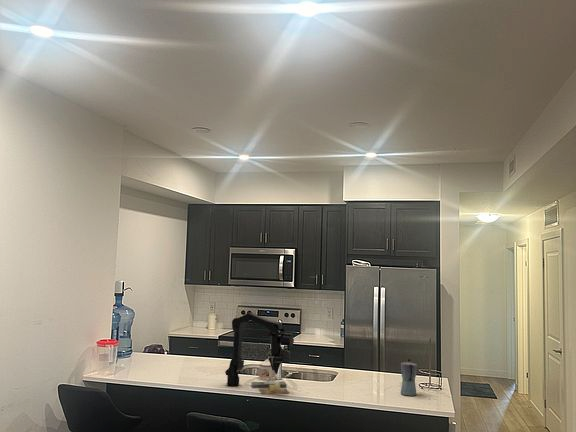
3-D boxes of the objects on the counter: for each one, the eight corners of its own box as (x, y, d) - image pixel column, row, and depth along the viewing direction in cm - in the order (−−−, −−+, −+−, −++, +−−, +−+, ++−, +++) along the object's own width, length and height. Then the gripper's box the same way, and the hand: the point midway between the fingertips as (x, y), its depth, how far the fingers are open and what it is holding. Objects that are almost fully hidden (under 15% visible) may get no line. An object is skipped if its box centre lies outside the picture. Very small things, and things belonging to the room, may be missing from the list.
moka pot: (413, 391, 317) (414, 357, 319) (420, 398, 302) (421, 362, 303) (397, 391, 317) (398, 356, 318) (404, 398, 301) (404, 361, 303)
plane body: (252, 388, 312) (253, 379, 313) (251, 385, 319) (251, 376, 320) (286, 387, 316) (286, 379, 317) (284, 385, 323) (284, 376, 323)
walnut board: (261, 393, 300) (261, 393, 300) (258, 389, 310) (258, 388, 310) (289, 393, 303) (289, 392, 303) (285, 389, 313) (285, 388, 313)
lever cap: (269, 391, 303) (269, 385, 304) (268, 389, 308) (268, 383, 308) (279, 391, 305) (280, 385, 305) (278, 389, 309) (278, 383, 309)
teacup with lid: (256, 378, 337) (257, 360, 338) (262, 376, 345) (263, 357, 346) (273, 381, 332) (274, 362, 333) (279, 378, 341) (280, 359, 342)
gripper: (292, 346, 301) (291, 375, 299) (286, 341, 319) (285, 368, 318) (273, 346, 299) (272, 375, 297) (267, 341, 317) (266, 368, 316)
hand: (274, 372), depth 307 cm, fingers open, 9 cm apart
